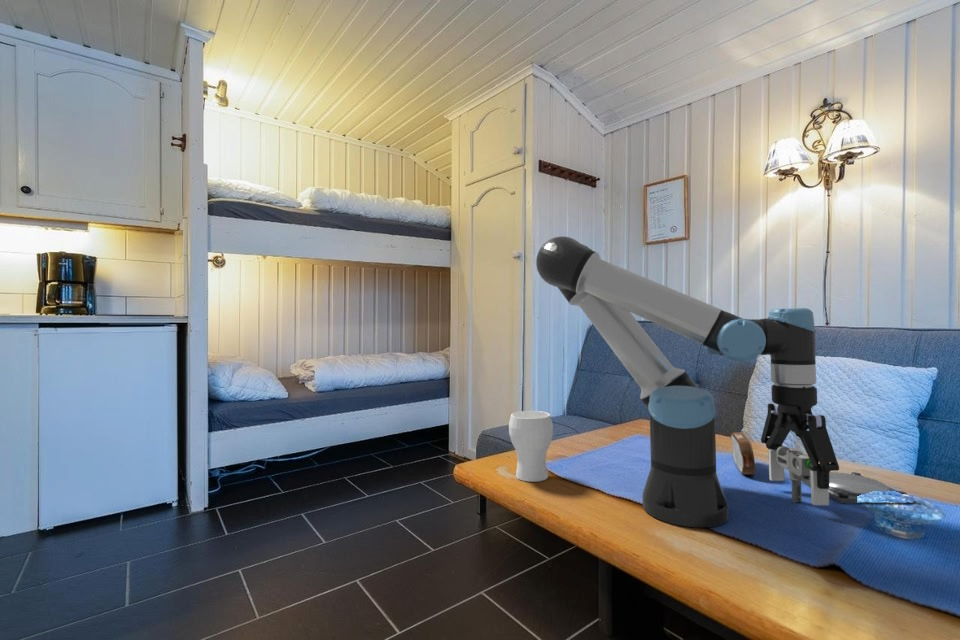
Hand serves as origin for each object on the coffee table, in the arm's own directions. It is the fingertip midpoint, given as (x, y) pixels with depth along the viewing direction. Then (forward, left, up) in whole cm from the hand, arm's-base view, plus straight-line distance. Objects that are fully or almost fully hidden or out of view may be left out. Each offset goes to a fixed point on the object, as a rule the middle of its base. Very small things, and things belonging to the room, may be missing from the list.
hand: (797, 491), depth 89 cm
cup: (-52, +16, -2) cm, 55 cm away
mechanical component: (0, 0, -2) cm, 2 cm away
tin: (0, +20, -2) cm, 20 cm away
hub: (+15, +6, -2) cm, 16 cm away
